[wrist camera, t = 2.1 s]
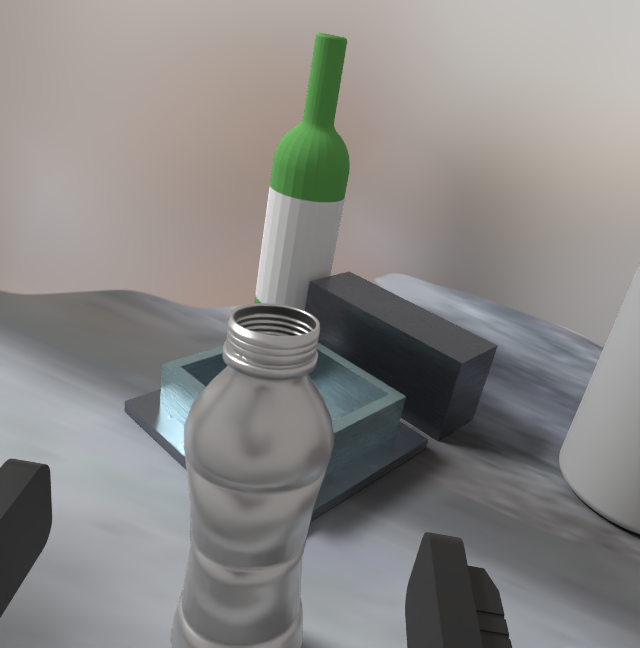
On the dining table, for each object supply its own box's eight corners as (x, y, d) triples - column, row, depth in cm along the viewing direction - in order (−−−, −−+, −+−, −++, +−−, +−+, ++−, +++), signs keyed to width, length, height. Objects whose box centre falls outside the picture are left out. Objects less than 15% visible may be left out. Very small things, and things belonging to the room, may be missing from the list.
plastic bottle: (311, 712, 31) (382, 354, 23) (172, 741, 28) (201, 355, 21) (280, 608, 36) (330, 293, 29) (163, 625, 34) (183, 288, 26)
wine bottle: (314, 347, 65) (370, 43, 52) (243, 332, 66) (282, 27, 53) (324, 317, 72) (376, 42, 59) (261, 304, 73) (298, 28, 60)
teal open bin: (269, 547, 40) (286, 451, 37) (124, 411, 50) (127, 325, 47) (472, 418, 58) (497, 345, 55) (336, 337, 68) (349, 271, 65)
